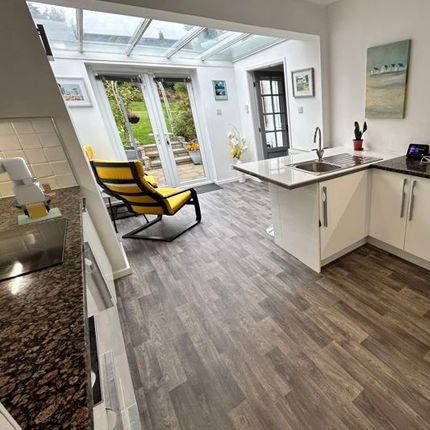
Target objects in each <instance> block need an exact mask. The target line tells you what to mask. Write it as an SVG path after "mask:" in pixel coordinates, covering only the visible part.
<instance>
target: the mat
mask: <svg viewBox="0 0 430 430" xmlns="http://www.w3.org/2000/svg"><path fill="white" fill-rule="evenodd" d="M45 210H46V209H45ZM46 212H47V210H46ZM28 213H29V212H28ZM47 214H48V215H46V216H42V217H37V218H33V219H32V217H31V215H30V213H29V215H30V217H28V216H27V215H26V216H25V214H24V213H23V214H19V215H17V224H18V225H17V226H18V227H21V226H25V225H30V224H34V223H38V222H43V221H47V220H51V219H55V218H60V217H63V215H62V213H61V210H60V209H59V207H54V208H53V207H52V208H50V211H49V213H48V212H47Z"/></svg>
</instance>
